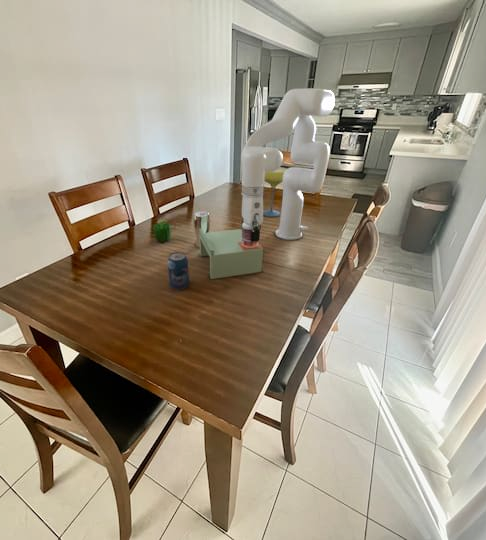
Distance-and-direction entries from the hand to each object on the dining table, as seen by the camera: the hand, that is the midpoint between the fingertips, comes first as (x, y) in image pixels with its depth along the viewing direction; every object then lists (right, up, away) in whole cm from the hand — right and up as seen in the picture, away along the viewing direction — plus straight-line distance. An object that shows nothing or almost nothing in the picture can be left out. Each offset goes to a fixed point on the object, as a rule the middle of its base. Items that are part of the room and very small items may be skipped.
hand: (249, 235), depth 109 cm
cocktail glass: (+19, +20, +60) cm, 66 cm away
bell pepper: (-38, +1, +30) cm, 48 cm away
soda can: (-26, -18, -3) cm, 32 cm away
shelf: (-7, -10, +11) cm, 16 cm away
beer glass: (-19, -2, +25) cm, 32 cm away
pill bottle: (0, -3, +2) cm, 4 cm away
